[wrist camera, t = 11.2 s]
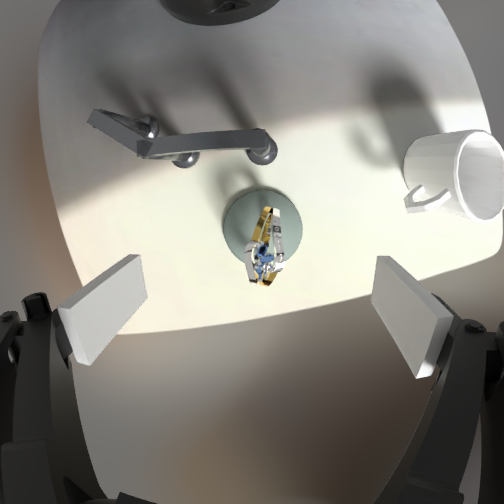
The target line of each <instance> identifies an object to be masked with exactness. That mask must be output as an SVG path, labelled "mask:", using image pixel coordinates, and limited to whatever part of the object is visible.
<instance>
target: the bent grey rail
mask: <svg viewBox="0 0 504 504" xmlns="http://www.w3.org/2000/svg"><path fill="white" fill-rule="evenodd" d="M87 123H89V124H91V125H92V126H93V127H94V128H97V129H99V130H100V131H102V132H104V133H105V134H107V135H108V136H110V137H112V138H113V139H115V140H116V141H118V142H120V143H121V144H123V145H124V146H126V147H128V148H129V149H131V150H132V151H134V152H135V153H137V157H142V158H144V159H157V160H171V161H172V162H173V163H174V165H176V166H177V167H179V168H189V167H192V166H193V165H195V164H196V162H197V161H198V159H199V155H200V152H202V151H217V150H239V149H247V155H248V157H249V159H250V160H251V161H252V162H253V163H255V164H257V165H267V164H270V163H271V162H273V161H274V159H275V158H276V156H277V151H278V149H277V145H276V143H275V142H274V140H273V139H271V138H270V137H269V135H268V134H267V132H266V131H265V129H259V128H256V129H252V130H231V131H215V132H202V133H191V134H182V135H173V136H165V137H158V138H156V137H157V136H158V133H159V124H158V122H157V121H156V120H155V119H153V118H150V117H143V118H141V119H139V120H136V119H133V118H129V117H126V116H123V115H120V114H116V113H113V112H109V111H106V110H102V109H99V110H97V109H93V111H92V113H91V115H90V117H89V119H88V121H87Z"/></svg>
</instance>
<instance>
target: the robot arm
mask: <svg viewBox="0 0 504 504" xmlns="http://www.w3.org/2000/svg"><path fill="white" fill-rule="evenodd" d="M278 1H279V0H161V2H162V4H163V5H164V6H165V8H166V9H167V10H168V12H169V13H170V14H171V15H173V16H174V17H175V18H177V19H179V20H181V21H184V22H187V23H191V24H196V25H206V26H213V25H225V24H231V23H236V22H240V21H244V20H247V19H250V18H253V17H255V16H257V15H260V14H261V13H263V12H265V11H267V10H268V9H270V8H271V7H273V6H274V5H275V4H276V3H277V2H278ZM146 299H147V292H146V287H145V281H144V275H143V269H142V262H141V256H140V255H134V254H129V255H128V256H126V257H125V258H123V259H122V260H120V261H119V262H117V263H116V264H115V265H113V266H112V267H110V268H109V269H107V270H106V271H105V272H103V273H102V274H100V275H99V276H98V277H96V278H95V279H93V280H92V281H91V282H89V283H88V284H87V285H85V286H84V287H83V288H81V289H80V290H78V291H77V292H76V293H74V294H73V295H72V296H71V297H69V298H68V299H67V300H65V301H64V302H63V303H61V304H60V305H59V306H58V307H57V309H55V310H54V311H53V312H52V311H51V308H50V305H49V302H48V299H47V295H46V294H45V293H42V292H39V293H34V294H31V295H29V296H27V297H25V298H24V299H23V300H22V302H21V303H22V306H23V309H24V312H25V315H26V318H27V321H21V320H20V318H19V315H18V312H16V311H10V312H9V311H7V312H5V313H3V314H2V315H1V316H0V504H156V503H153V502H149V501H146V500H143V499H139V498H136V497H133V496H130V495H127V494H125V493H122V492H120V493H119V495H118V498H117V499H108V498H107V497H106V495H105V494H104V492H103V491H102V489H101V487H100V486H99V483H98V481H97V478H96V475H95V472H94V469H93V466H92V463H91V460H90V456H89V453H88V449H87V446H86V442H85V438H84V434H83V429H82V425H81V421H80V416H79V411H78V406H77V400H76V394H75V388H74V381H73V373H72V364H71V361H70V358H69V355H70V354H71V353H72V352H73V353H74V355H75V358H76V360H77V362H79V363H82V364H86V365H89V366H90V365H91V364H92V363H93V361H94V360H95V359H96V358H97V357H98V355H99V354H100V353H101V352H102V350H103V349H104V348H105V347H106V346H107V344H108V343H109V342H110V341H111V340H112V338H113V337H114V336H115V335H116V334H117V333H118V331H119V330H120V329H121V328H122V327H123V326H124V324H125V323H126V322H127V321H128V320H129V319H130V317H131V316H132V315H133V314H134V313H135V312H136V311H137V309H138V308H139V307H140V306H141V305H142V304H143V303H144V301H145V300H146ZM371 303H372V305H373V306H374V308H375V309H376V311H377V313H378V314H379V316H380V317H381V319H382V321H383V322H384V324H385V325H386V327H387V329H388V331H389V332H390V334H391V335H392V337H393V339H394V341H395V342H396V344H397V346H398V347H399V349H400V351H401V353H402V354H403V356H404V358H405V360H406V361H407V363H408V365H409V367H410V369H411V370H412V372H413V374H414V376H415V378H420V377H426V376H430V375H432V372H433V370H434V368H435V366H436V363H437V365H438V366H439V368H440V369H441V370H440V372H439V374H438V376H437V378H436V380H435V383H434V385H433V386H432V389H431V390H432V393H431V396H430V398H429V401H428V404H427V406H426V408H425V411H424V413H423V416H422V418H421V420H420V422H419V425H418V427H417V429H416V431H415V433H414V435H413V437H412V439H411V442H410V443H409V445H408V447H407V449H406V451H405V453H404V455H403V457H402V459H401V460H400V462H399V464H398V466H397V468H396V469H395V471H394V473H393V474H392V476H391V478H390V479H389V481H388V482H387V484H386V486H385V487H384V488H383V490H382V492H381V493H380V495H379V496H378V497H377V499H376V500H375V502H374V503H373V504H463V501H464V495H463V494H462V493H459V486H460V483H461V480H462V477H463V475H464V472H465V468H466V466H467V462H468V459H469V456H470V452H471V449H472V445H473V441H474V437H475V433H476V428H477V424H478V419H479V413H480V419H481V447H482V450H481V477H480V490H479V498H478V504H504V321H503V322H501V323H500V325H499V327H498V330H497V332H487V331H486V328H485V327H484V326H483V325H482V324H481V323H479V322H478V321H475V320H471V319H463V320H462V319H461V318H460V317H459V316H458V315H457V314H456V313H455V312H454V311H453V310H452V309H451V308H450V307H449V306H448V305H447V304H445V302H444V301H443V300H442V299H441V298H440V297H438V296H436V295H434V294H432V293H430V292H429V291H428V290H427V289H426V288H424V287H423V285H421V284H420V283H419V282H418V281H417V280H416V279H415V278H414V277H413V276H412V275H411V274H409V273H408V272H407V271H406V270H405V269H404V268H403V267H402V266H401V265H399V264H398V263H397V262H396V261H395V260H394V259H393V258H391V257H390V256H377V262H376V270H375V277H374V283H373V290H372V296H371ZM8 350H9V352H10V354H11V356H12V358H13V361H12V363H11V361H10V359H9V356H8Z"/></svg>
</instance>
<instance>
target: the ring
mask: <svg viewBox="0 0 504 504" xmlns="http://www.w3.org/2000/svg"><path fill="white" fill-rule="evenodd" d="M263 229H264V230H263ZM271 230H272V238H273V245H274V251H275V253H274V254H272V253H267V252H266V251H267V249H268V247H269V240H270V237H271ZM255 247H258V250H257V253H256V254H255V256H253V251H254V248H255ZM254 259H255V262H254ZM273 260H274V262H275V265H273ZM244 261H245V266H246V270H247V274H248V277H249V281H250V283H251V284H255V285H257V283H258V282H259V284H260V285H261V286H266V287H267V286H269V285H270V284H271V283H272V282H273V280H274V278H275V276H276V274H277V272H280V271H281V270H282V269H283V267H284V263H285V256H284V249H283V242H282V235H281V226H280V210H279V209H278V208H275V207H271V206H266V207H265V208H264V210H263V211H262V213H261V215H260V218H259V220H258V222H257V225H256V227H255V230H254V233H253V236H252V239H251V241H250V242H249V243H248V244H247V245H246V248H245V251H244Z"/></svg>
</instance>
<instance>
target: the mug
mask: <svg viewBox="0 0 504 504" xmlns="http://www.w3.org/2000/svg"><path fill="white" fill-rule="evenodd" d="M403 170H404V177H405V182H406V184H407V186H408V189H409V191H410V193H409V194H408V195H407V196H406V197H405V198H404V202H405V207H406V210H407V212H408V213H416V212H425V211H429V210H431V209H434V208H436V209H439V210H442V211H445V212H449V213H452V214H455V215H458V216H461V217H464V218H467V219H470V220H473V221H476V222H479V223H488V222H492V221H493V220H494V219H495V218H497V217H498V216H499V215H500V213H501V212H502V210H503V209H504V152H503V150H502V148H501V146H500V144H499V143H498V142H497V140H496V139H495V138H494V137H493V136H492V135H491V134H489V133H487V132H486V131H484V130H466V131H458V132H451V133H444V134H437V135H431V136H425V137H421V138H419V139H417V140H415V141H414V142H413V143H412V144H411V146H410V147H409V148H408V150H407V153H406V155H405V158H404V167H403ZM415 199H416V200H417V201H419V202H414V201H415Z"/></svg>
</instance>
